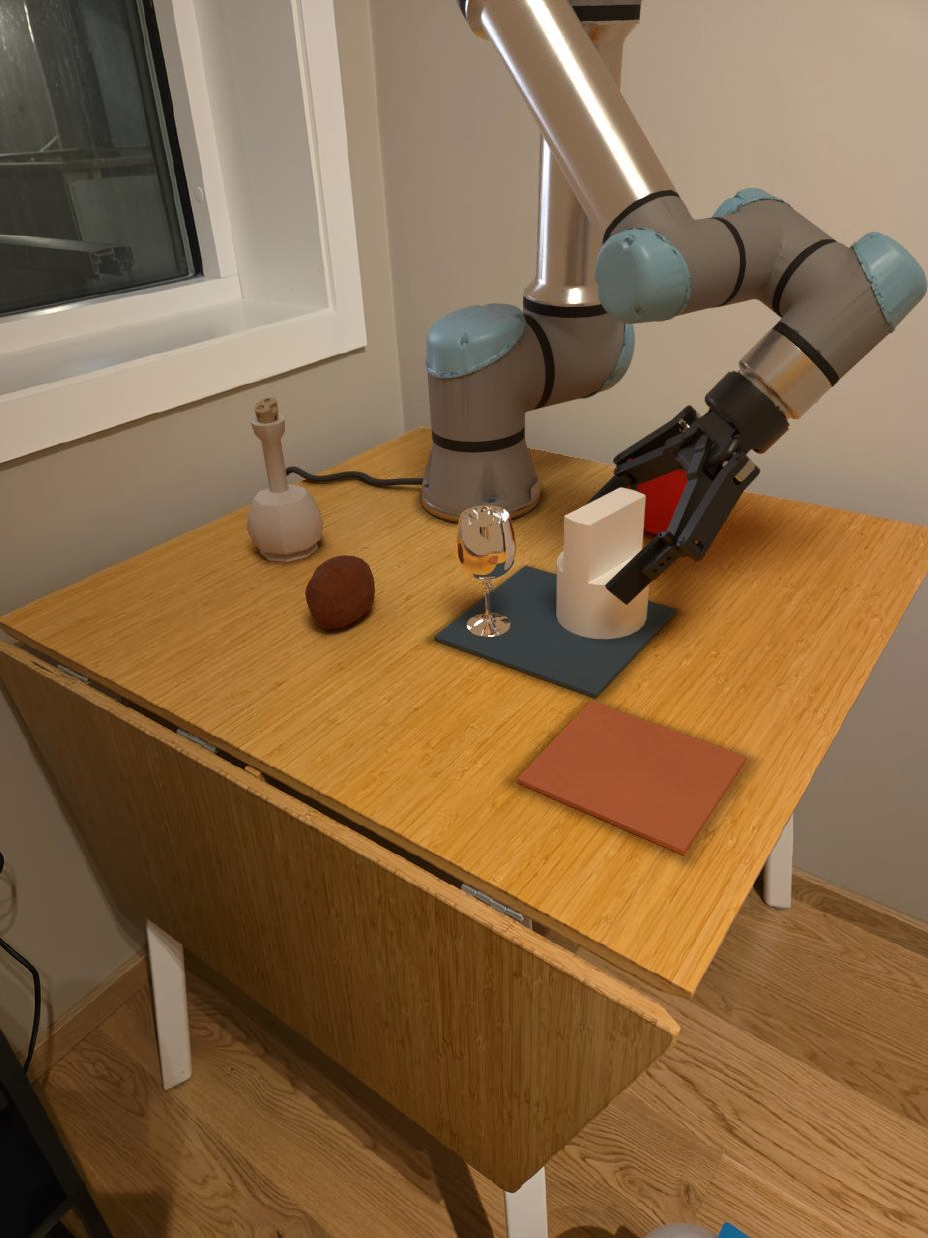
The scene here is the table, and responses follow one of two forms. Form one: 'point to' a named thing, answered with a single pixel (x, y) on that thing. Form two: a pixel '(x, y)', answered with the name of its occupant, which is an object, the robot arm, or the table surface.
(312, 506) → the potion bottle
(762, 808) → the table surface
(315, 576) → the potato
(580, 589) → the base with upright slab
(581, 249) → the robot arm
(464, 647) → the mat
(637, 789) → the mat
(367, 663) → the table surface
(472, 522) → the wineglass
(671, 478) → the tomato
